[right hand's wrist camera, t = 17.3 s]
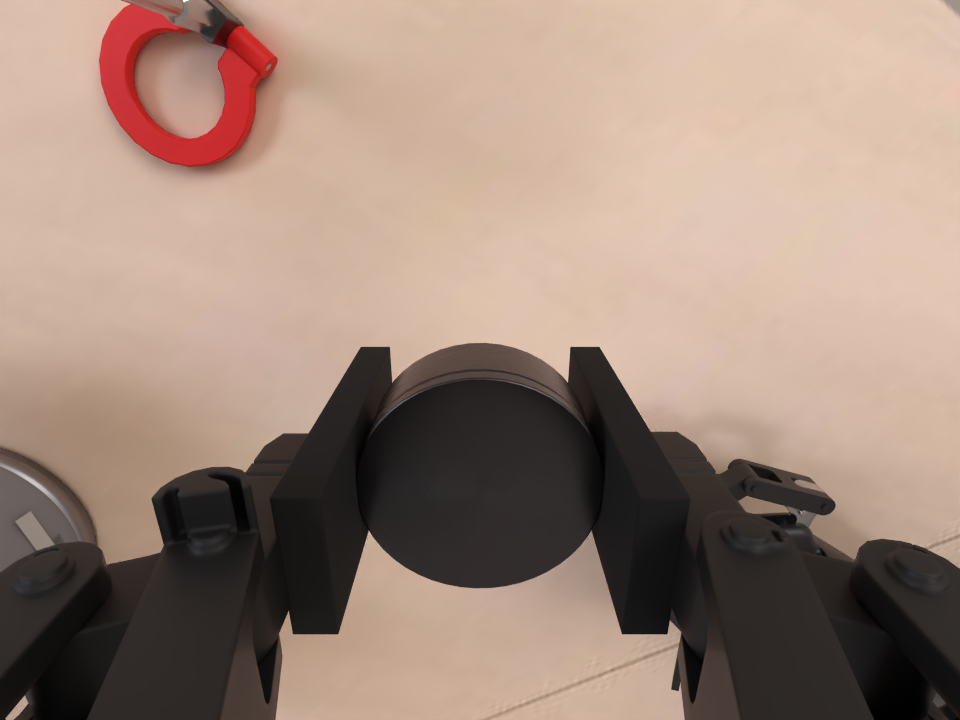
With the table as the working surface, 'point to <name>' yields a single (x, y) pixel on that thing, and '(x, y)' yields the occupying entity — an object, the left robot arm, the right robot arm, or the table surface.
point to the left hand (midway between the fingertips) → (636, 495)
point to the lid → (480, 468)
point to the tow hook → (194, 6)
